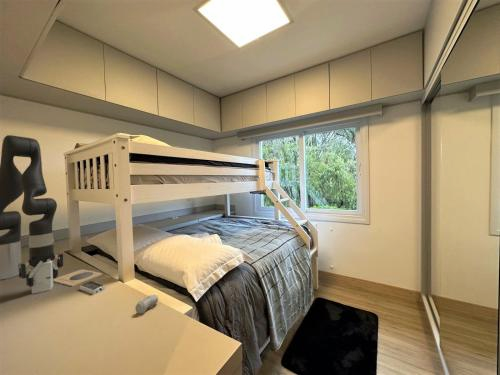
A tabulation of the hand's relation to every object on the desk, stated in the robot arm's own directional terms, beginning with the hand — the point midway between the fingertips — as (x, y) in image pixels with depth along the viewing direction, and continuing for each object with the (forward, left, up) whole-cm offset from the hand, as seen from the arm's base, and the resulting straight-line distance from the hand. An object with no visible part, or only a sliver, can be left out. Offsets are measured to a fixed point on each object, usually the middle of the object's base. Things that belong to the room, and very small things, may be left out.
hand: (43, 282), depth 88 cm
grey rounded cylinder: (+55, +5, -4) cm, 56 cm away
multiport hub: (+21, +7, -4) cm, 23 cm away
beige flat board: (0, +13, -3) cm, 13 cm away
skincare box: (0, 0, -4) cm, 4 cm away
